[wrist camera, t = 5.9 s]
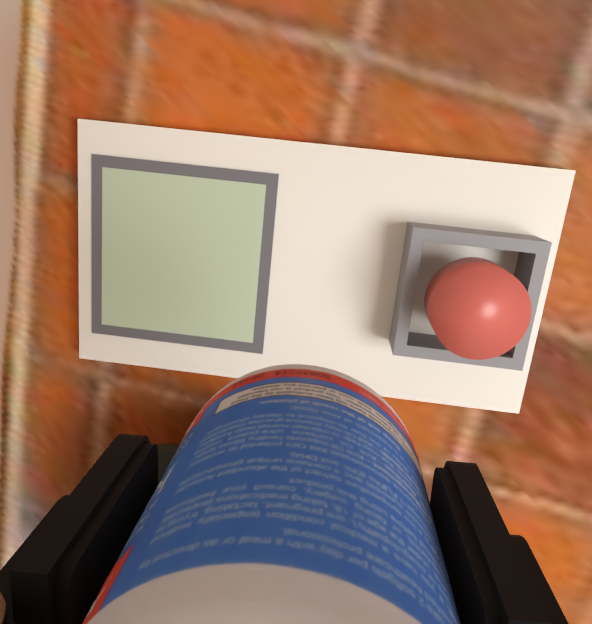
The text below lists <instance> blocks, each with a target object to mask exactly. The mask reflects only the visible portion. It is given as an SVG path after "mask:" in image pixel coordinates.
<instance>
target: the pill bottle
mask: <svg viewBox="0 0 592 624" xmlns="http://www.w3.org/2000/svg"><path fill="white" fill-rule="evenodd" d="M82 624H461V622H460V618H459V614H458V611H457V607H456V603H455V599H454V596H453V592H452V587H451V583H450V579H449V575H448V572H447V568H446V564H445V561H444V557H443V554H442V550H441V546H440V542H439V539H438V535H437V531H436V527H435V523H434V519H433V515H432V511H431V507H430V503H429V499H428V496H427V492H426V488H425V484H424V480H423V476H422V472H421V468H420V464H419V460H418V456H417V454H416V451H415V448H414V445H413V443H412V440H411V438H410V436H409V433H408V431H407V429H406V427H405V426H404V424H403V422H402V421H401V419H400V418H399V416H398V415H397V413H396V412H395V411H394V410H393V408H392V407H391V406H390V405H389V404H388V403H387V402H386V401H385V400H384V399H383V398H382V397H381V396H380V395H379V394H377V393H376V392H375V391H374V390H372V389H371V388H370V387H368V386H367V385H365V384H363V383H362V382H360V381H358V380H356V379H354V378H352V377H350V376H348V375H346V374H343V373H341V372H338V371H335V370H332V369H328V368H324V367H319V366H312V365H303V364H286V365H276V366H271V367H266V368H262V369H259V370H256V371H253V372H250V373H248V374H245V375H244V376H242V377H240V378H238V379H236V380H234V381H232V382H231V383H229V384H228V385H226V386H225V387H223V388H222V389H221V390H219V391H218V392H217V393H216V394H215V395H214V396H213V397H212V398H211V399H210V400H209V401H208V402H207V403H206V404H205V405H204V406H203V408H202V409H201V410H200V411H199V413H198V414H197V416H196V417H195V419H194V420H193V422H192V423H191V425H190V427H189V428H188V430H187V432H186V434H185V436H184V438H183V439H182V441H181V443H180V445H179V446H178V448H177V450H176V452H175V454H174V456H173V458H172V460H171V462H170V464H169V465H168V467H167V469H166V471H165V473H164V475H163V477H162V479H161V481H160V482H159V484H158V486H157V488H156V490H155V492H154V494H153V495H152V497H151V499H150V501H149V502H148V504H147V506H146V508H145V510H144V512H143V514H142V516H141V517H140V519H139V521H138V523H137V524H136V526H135V528H134V530H133V532H132V534H131V535H130V537H129V539H128V541H127V543H126V545H125V547H124V548H123V550H122V552H121V554H120V556H119V558H118V560H117V561H116V563H115V565H114V567H113V569H112V571H111V572H110V574H109V576H108V577H107V579H106V581H105V583H104V584H103V586H102V588H101V590H100V592H99V594H98V596H97V598H96V600H95V601H94V602H93V604H92V607H91V608H90V610H89V612H88V614H87V616H86V618H85V620H84V622H83V623H82Z"/></svg>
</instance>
